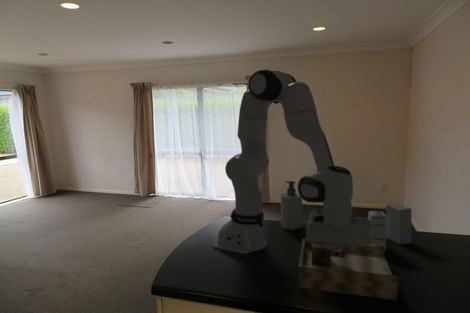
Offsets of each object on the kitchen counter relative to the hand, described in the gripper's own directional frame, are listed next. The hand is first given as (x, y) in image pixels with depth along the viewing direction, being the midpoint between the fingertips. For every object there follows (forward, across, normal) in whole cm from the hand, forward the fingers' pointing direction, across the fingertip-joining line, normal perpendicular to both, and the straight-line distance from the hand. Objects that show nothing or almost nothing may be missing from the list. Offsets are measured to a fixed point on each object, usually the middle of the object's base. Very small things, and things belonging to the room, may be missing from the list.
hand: (336, 255), depth 101 cm
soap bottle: (+7, +19, -42) cm, 46 cm away
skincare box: (+7, -26, -34) cm, 44 cm away
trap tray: (+6, -2, 0) cm, 7 cm away
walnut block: (+2, +5, 0) cm, 6 cm away
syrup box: (+7, -16, -24) cm, 30 cm away
